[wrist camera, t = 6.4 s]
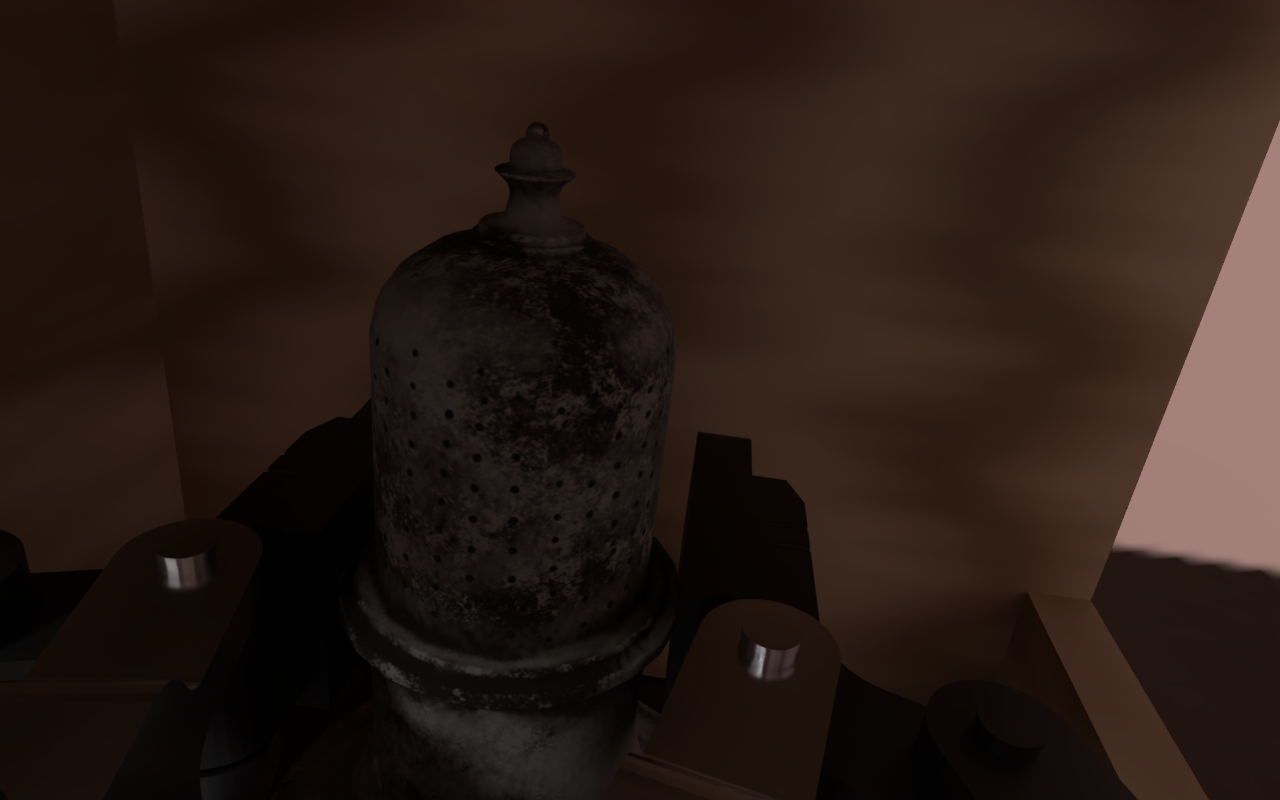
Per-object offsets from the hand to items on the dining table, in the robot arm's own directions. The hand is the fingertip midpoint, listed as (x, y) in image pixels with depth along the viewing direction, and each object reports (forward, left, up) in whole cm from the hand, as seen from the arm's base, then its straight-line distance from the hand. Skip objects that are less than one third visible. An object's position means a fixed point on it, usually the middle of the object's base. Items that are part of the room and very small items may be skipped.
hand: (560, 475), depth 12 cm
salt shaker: (0, -3, -7) cm, 8 cm away
